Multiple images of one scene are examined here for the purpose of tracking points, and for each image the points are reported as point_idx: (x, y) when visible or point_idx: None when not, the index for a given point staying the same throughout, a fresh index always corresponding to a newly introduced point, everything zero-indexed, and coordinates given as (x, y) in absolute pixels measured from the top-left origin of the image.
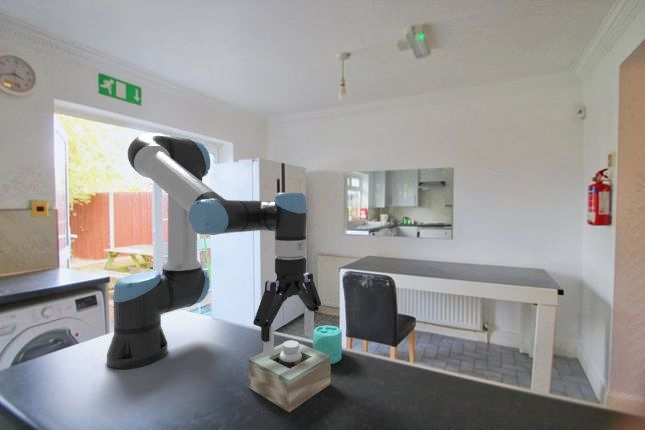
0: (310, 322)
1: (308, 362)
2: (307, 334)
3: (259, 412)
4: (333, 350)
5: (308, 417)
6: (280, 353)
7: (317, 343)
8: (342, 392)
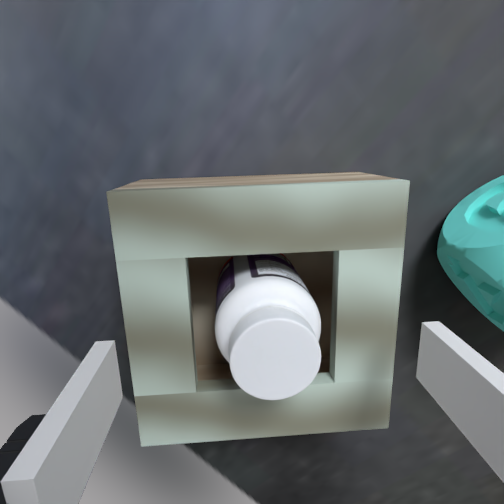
0: (470, 426)
1: (286, 405)
2: (422, 349)
3: (97, 314)
4: (500, 308)
5: None
6: (236, 297)
7: (482, 273)
8: None
